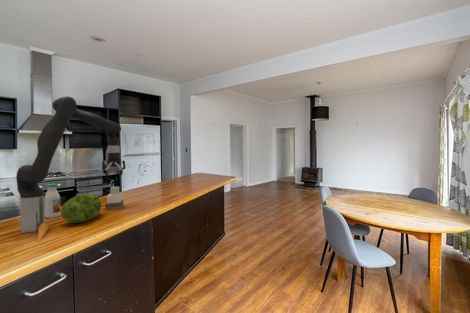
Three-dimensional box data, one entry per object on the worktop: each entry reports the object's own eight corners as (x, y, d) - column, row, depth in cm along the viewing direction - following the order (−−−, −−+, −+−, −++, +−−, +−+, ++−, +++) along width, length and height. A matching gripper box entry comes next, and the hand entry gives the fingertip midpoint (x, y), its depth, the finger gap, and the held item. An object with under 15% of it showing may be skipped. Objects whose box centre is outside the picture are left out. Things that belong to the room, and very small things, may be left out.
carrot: (41, 231, 121) (36, 224, 120) (51, 227, 123) (47, 219, 122) (35, 249, 104) (29, 241, 103) (47, 243, 106) (41, 235, 105)
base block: (121, 209, 161) (121, 202, 161) (105, 211, 158) (105, 203, 158) (123, 206, 171) (123, 199, 171) (108, 207, 168) (107, 200, 167)
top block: (120, 202, 162) (119, 195, 162) (107, 203, 159) (106, 195, 159) (122, 199, 169) (121, 193, 169) (109, 200, 167) (109, 193, 167)
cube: (118, 194, 163) (118, 187, 162) (110, 195, 161) (110, 188, 161) (119, 193, 167) (119, 186, 167) (111, 194, 166) (111, 186, 165)
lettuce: (110, 213, 151) (109, 189, 151) (83, 227, 125) (83, 198, 124) (87, 213, 151) (86, 189, 151) (55, 227, 125) (54, 198, 124)
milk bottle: (47, 219, 140) (46, 185, 139) (43, 216, 145) (42, 184, 144) (62, 216, 146) (61, 183, 145) (58, 213, 151) (57, 182, 150)
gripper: (100, 152, 157) (101, 176, 158) (124, 152, 162) (124, 175, 163) (103, 152, 164) (103, 175, 165) (125, 152, 169) (126, 174, 170)
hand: (114, 175), depth 164 cm, fingers open, 8 cm apart
